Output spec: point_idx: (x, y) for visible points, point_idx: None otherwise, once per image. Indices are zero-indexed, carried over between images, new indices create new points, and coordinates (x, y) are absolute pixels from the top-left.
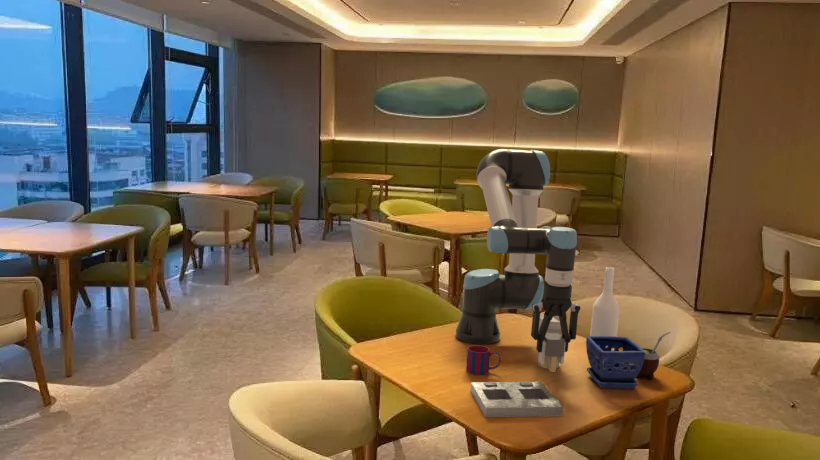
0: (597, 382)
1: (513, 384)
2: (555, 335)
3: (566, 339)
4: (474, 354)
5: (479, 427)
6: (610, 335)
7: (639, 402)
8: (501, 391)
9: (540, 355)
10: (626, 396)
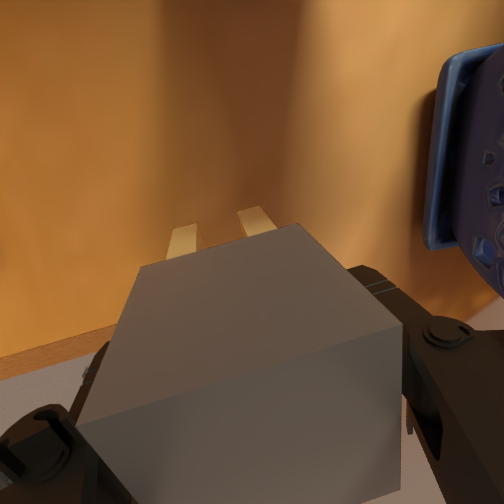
0: (424, 226)
1: (57, 388)
2: (318, 423)
3: (426, 423)
4: None
5: None
6: None
7: (488, 302)
8: None
9: None
10: (474, 270)
